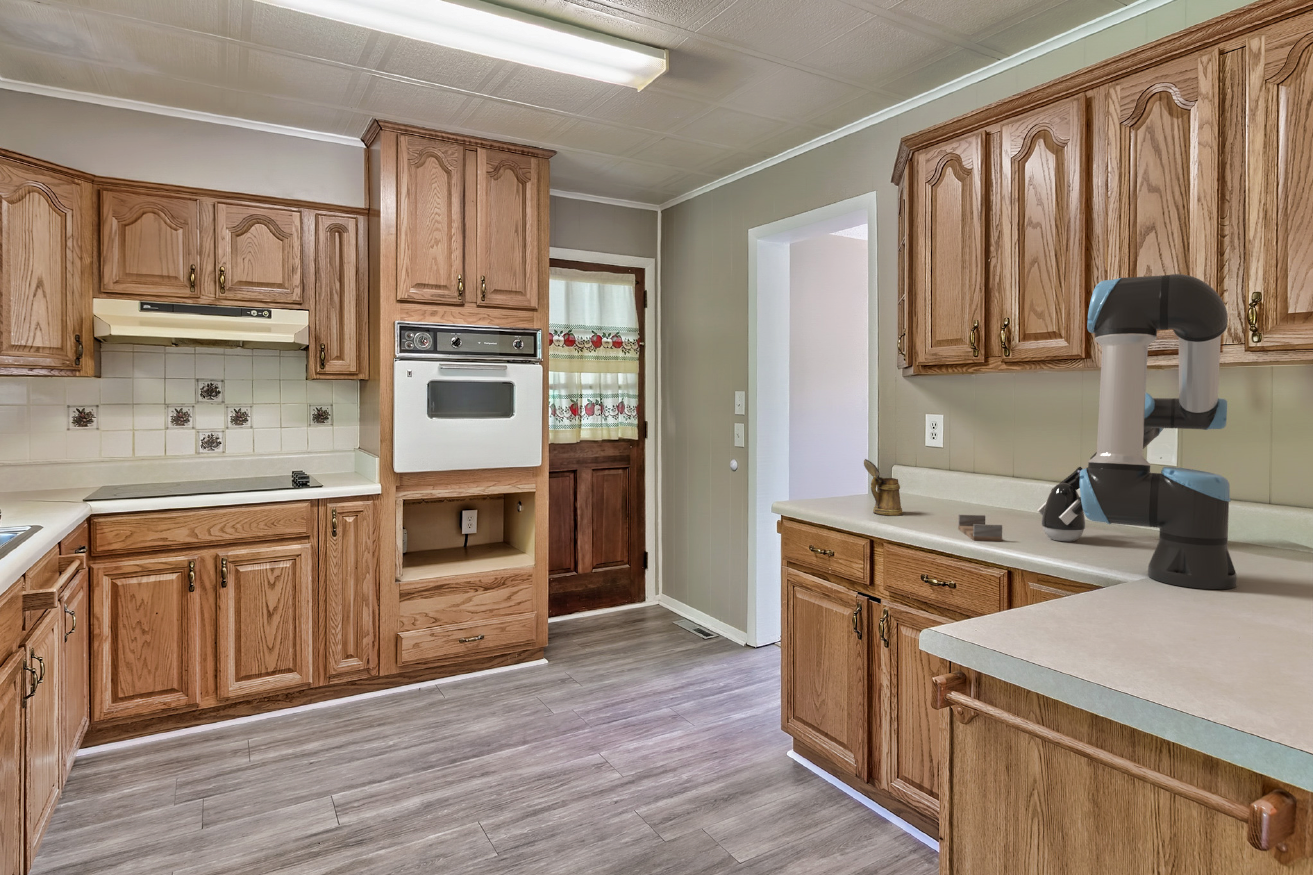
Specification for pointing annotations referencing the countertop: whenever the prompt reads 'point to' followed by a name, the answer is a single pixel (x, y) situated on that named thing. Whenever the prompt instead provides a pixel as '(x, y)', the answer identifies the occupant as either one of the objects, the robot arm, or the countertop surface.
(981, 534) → the walnut riser
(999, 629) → the countertop surface
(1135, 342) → the robot arm
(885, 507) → the wooden mug
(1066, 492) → the black egg roly-poly
